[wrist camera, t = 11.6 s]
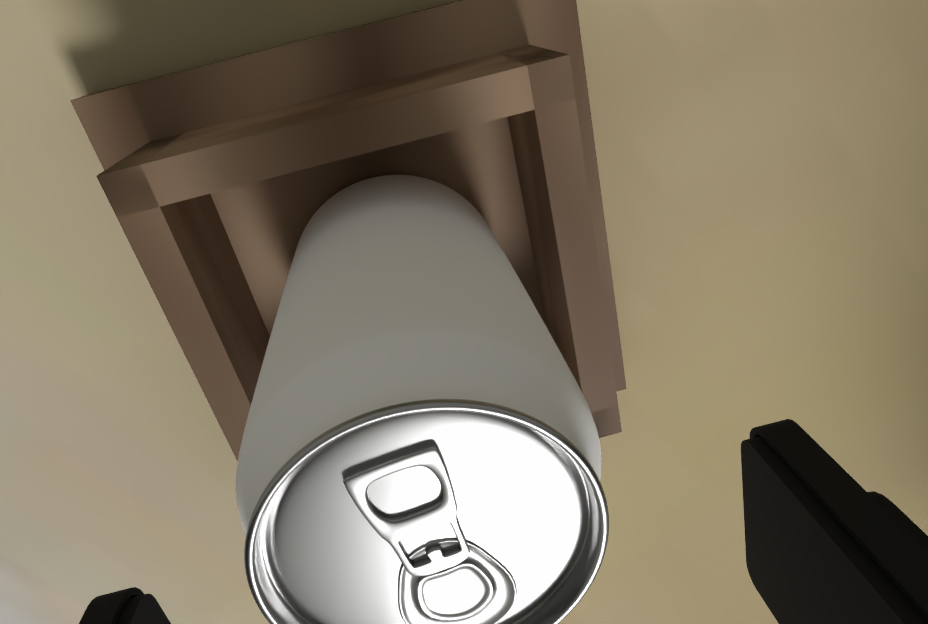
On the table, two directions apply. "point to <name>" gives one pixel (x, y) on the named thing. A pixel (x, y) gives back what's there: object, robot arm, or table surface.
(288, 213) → the holder
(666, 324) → the table surface
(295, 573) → the can
